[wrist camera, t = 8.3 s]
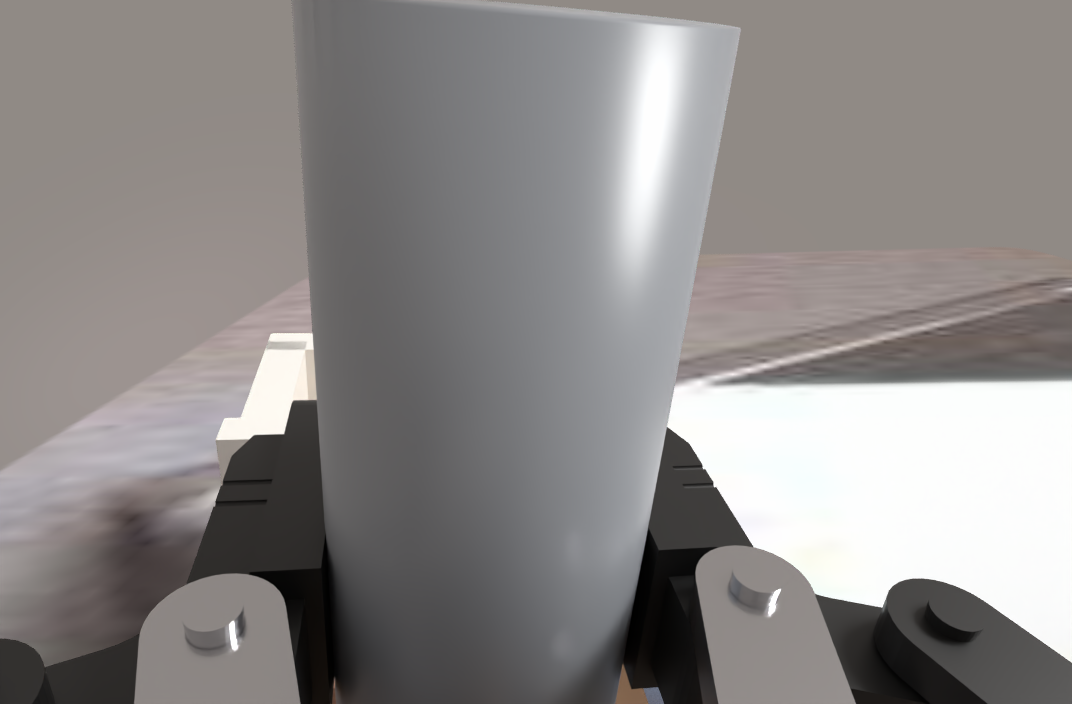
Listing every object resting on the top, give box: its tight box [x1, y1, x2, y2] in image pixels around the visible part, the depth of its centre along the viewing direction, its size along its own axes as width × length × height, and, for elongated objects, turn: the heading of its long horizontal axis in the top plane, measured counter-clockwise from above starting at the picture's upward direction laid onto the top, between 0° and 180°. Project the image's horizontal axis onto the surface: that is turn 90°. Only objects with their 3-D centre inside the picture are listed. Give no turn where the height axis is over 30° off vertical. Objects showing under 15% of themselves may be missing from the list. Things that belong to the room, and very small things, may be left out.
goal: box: [216, 333, 317, 486], centre depth 19 cm, size 9×6×7 cm
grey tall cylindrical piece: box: [292, 0, 741, 704], centre depth 9 cm, size 6×6×14 cm
